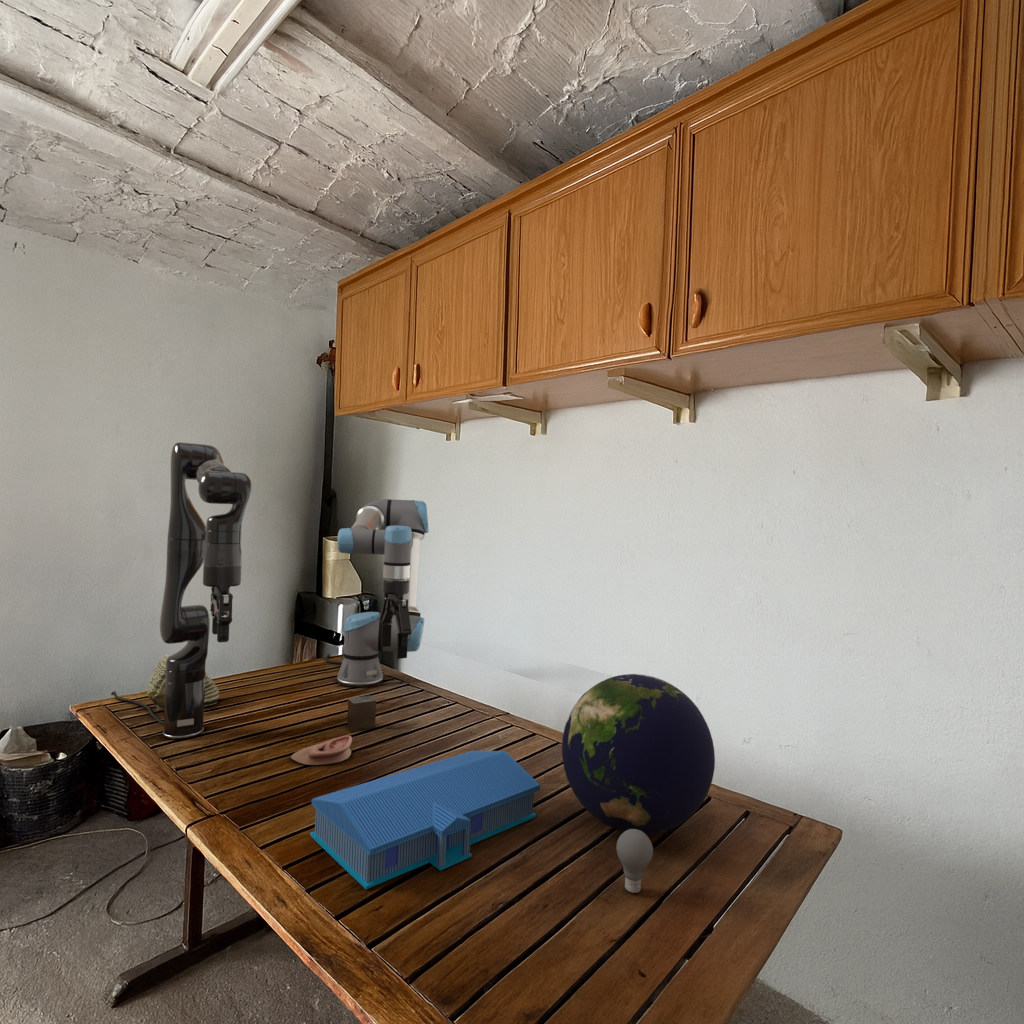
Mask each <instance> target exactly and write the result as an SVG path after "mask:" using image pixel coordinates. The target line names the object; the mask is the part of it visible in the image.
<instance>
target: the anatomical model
mask: <svg viewBox="0 0 1024 1024" xmlns="http://www.w3.org/2000/svg"><path fill="white" fill-rule="evenodd" d="M352 743H353V737H352V735H343V736H339V737H335V738H332V739H329V740H326V741H323V742H321V743H318V744H315V745H311V746H308V747H304V748H302V749H300V750H298V751H295V752H294V753H293V754H292V755H291V756H290V758H291V760H293V761H294V762H297V763H299V764H302V765H306V766H319V765H330V764H337V763H340V762H343V761H345V760H347V759H349V758H350V756H351V755H352V750H351V748H350V747H351V745H352Z"/></svg>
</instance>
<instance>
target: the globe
mask: <svg viewBox="0 0 1024 1024" xmlns="http://www.w3.org/2000/svg"><path fill="white" fill-rule="evenodd" d="M715 754H716V753H715V746H714V740H713V737H712V733H711V730H710V727H709V726H708V723H707V721H706V719H705V717H704V715H703V714H702V712H701V710H700V709H699V707H698V706H697V705H696V703H694V701H693V700H692V699H691V698H690V697H689V696H688V695H687V694H686V693H685V692H683V691H682V690H681V689H679V688H678V687H676V686H675V685H674V684H672V683H670V682H668V681H666V680H664V679H661V678H658V677H656V676H652V675H647V674H643V673H627V674H619V675H615V676H611V677H608V678H606V679H604V680H602V681H600V682H597V683H596V684H595V685H593V686H592V687H590V688H589V689H588V690H587V691H585V692H584V693H583V694H582V695H581V696H580V697H579V699H578V700H577V701H576V703H575V704H574V705H573V707H572V709H571V710H570V713H569V715H568V717H567V720H566V722H565V725H564V729H563V733H562V742H561V758H562V764H563V769H564V773H565V776H566V779H567V782H568V784H569V787H570V788H571V790H572V792H573V794H574V795H575V797H576V799H577V800H578V801H579V802H580V804H581V805H582V806H583V808H584V809H585V810H586V811H587V812H589V813H590V815H592V816H593V817H594V818H596V820H598V821H600V822H601V823H602V824H604V825H605V826H607V827H609V828H612V829H614V830H616V831H619V832H622V833H623V832H625V831H627V830H629V829H637V830H640V831H642V832H644V833H645V834H646V835H647V836H649V835H657V834H661V833H664V832H668V831H671V830H673V829H675V828H677V827H678V826H680V825H682V824H684V823H685V822H686V821H688V820H689V819H690V818H691V817H692V816H693V815H694V814H695V813H696V812H697V811H698V810H699V808H700V807H701V806H702V804H703V803H704V801H705V800H706V797H707V796H708V794H709V791H710V789H711V785H712V783H713V779H714V773H715V767H716V755H715Z"/></svg>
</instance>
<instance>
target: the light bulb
mask: <svg viewBox="0 0 1024 1024" xmlns="http://www.w3.org/2000/svg"><path fill="white" fill-rule="evenodd" d="M615 849H616V854H617V857H618V859H619V861H620V863H621V865H622V867H623V873H624V874H623V875H624V876H625V878H624V888H625V890H627V891H628V892H630V893H634V894H635V893H639V892H640V891H641V889H642V887H641V886H642V879H643V877H644V875H645V871H646V868H647V867H648V866H649V864H650V863H651V861H652V859H653V855H654V847H653V843H652V841H651V838H649V835H646V834H645V833H644V832H642V831H640V830H637V829H629V830H627V831H625V832H622V833H621V834H620V835H619V837H618V839H617V841H616V847H615Z"/></svg>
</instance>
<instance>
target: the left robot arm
mask: <svg viewBox="0 0 1024 1024" xmlns="http://www.w3.org/2000/svg"><path fill="white" fill-rule="evenodd" d="M169 470H170V503H169V504H170V505H169V517H168V527H167V541H166V567H165V582H164V591H163V595H162V602H161V603H162V604H161V610H160V617H159V634H160V638H161V640H162V641H163V642H164V644H167V645H168V644H169V645H172V644H180V643H181V644H183V643H186V644H185V645H184V646H183V647H182V648H181V649H180V650H178V651H176V652H174V653H172V654H170V655H171V656H169V657H168V658H167V660H166V674H165V705H164V710H163V720H161V719H160V718H159V717H158V716H157V715H156V714H155V713H154V712H153V711H152V709H151V707H150V706H148V705H146V704H145V703H142V702H140V701H138V700H135V699H130V698H126V697H125V698H124V697H121V696H118V693H117V692H116V691H114V690H113V691H112V692H111V693H110V696H114V698H115V699H116V700H119V701H123V702H128V703H132V704H135V705H138V706H140V707H143V708H145V709H146V710H147V711H148V713H149V715H150V716H151V717H152V718H153V719H154V720H155V721H157V722H159V723H161V724H163V731H162V737H164V738H166V739H169V740H185V739H190V738H191V739H192V738H194V737H197V736H199V735H202V734H203V732H204V730H205V729H204V722H205V721H204V718H205V706H204V693H205V672H206V664H207V663H206V662H207V658H208V653H209V652H208V651H209V641H210V640H209V639H210V631H211V633H212V634H213V635H217V636H216V641H217V642H218V643H227V642H229V641H230V625H231V623H232V622H233V600H234V596H233V595H234V594H232V593H231V592H230V588H231V587H238V586H240V585H241V583H242V564H243V563H242V561H243V552H242V551H243V550H242V527H243V521H244V516H245V513H246V509H247V506H248V503H249V501H250V498H251V495H252V492H253V484H252V483H253V482H252V480H251V478H250V477H249V475H247V473H244V472H239V471H237V472H236V471H232V470H230V469H229V468H228V467H227V466H226V465H225V463H224V460H223V458H222V455H221V452H220V451H219V449H218V448H216V447H215V446H214V445H211V444H204V443H203V444H202V443H195V442H194V443H192V442H182V441H181V442H180V441H178V442H175V443H174V445H172V448H171V452H170V469H169ZM186 480H192V481H193V480H194V481H196V482H197V483H198V488H197V489H198V490H197V491H198V495H199V498H200V499H201V500H202V501H203V502H204V503H206V504H207V503H208V504H211V505H212V504H213V505H231V507H230V509H229V510H228V511H227V512H225V513H220V514H214V515H211V516H208V517H207V519H206V523H205V521H204V520H203V519H202V517H201V515H200V514H199V512H198V511H197V510H196V507H195V506H194V505H193V503H192V500H191V498H190V496H189V494H188V491H187V485H186ZM202 566H203V568H202V569H203V570H202V585H203V586H205V587H209V588H211V589H210V590H211V593H210V609H209V610H210V613H209V610H208V608H207V607H206V606H205V605H203V604H192V605H191V604H190V605H182V604H183V599H184V595H185V592H186V590H187V588H188V586H189V584H190V583H191V581H192V579H193V578H194V577H195V576H196V574H197V573H198V571H200V569H201V567H202ZM210 615H211V617H212V621H211V617H210Z"/></svg>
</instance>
